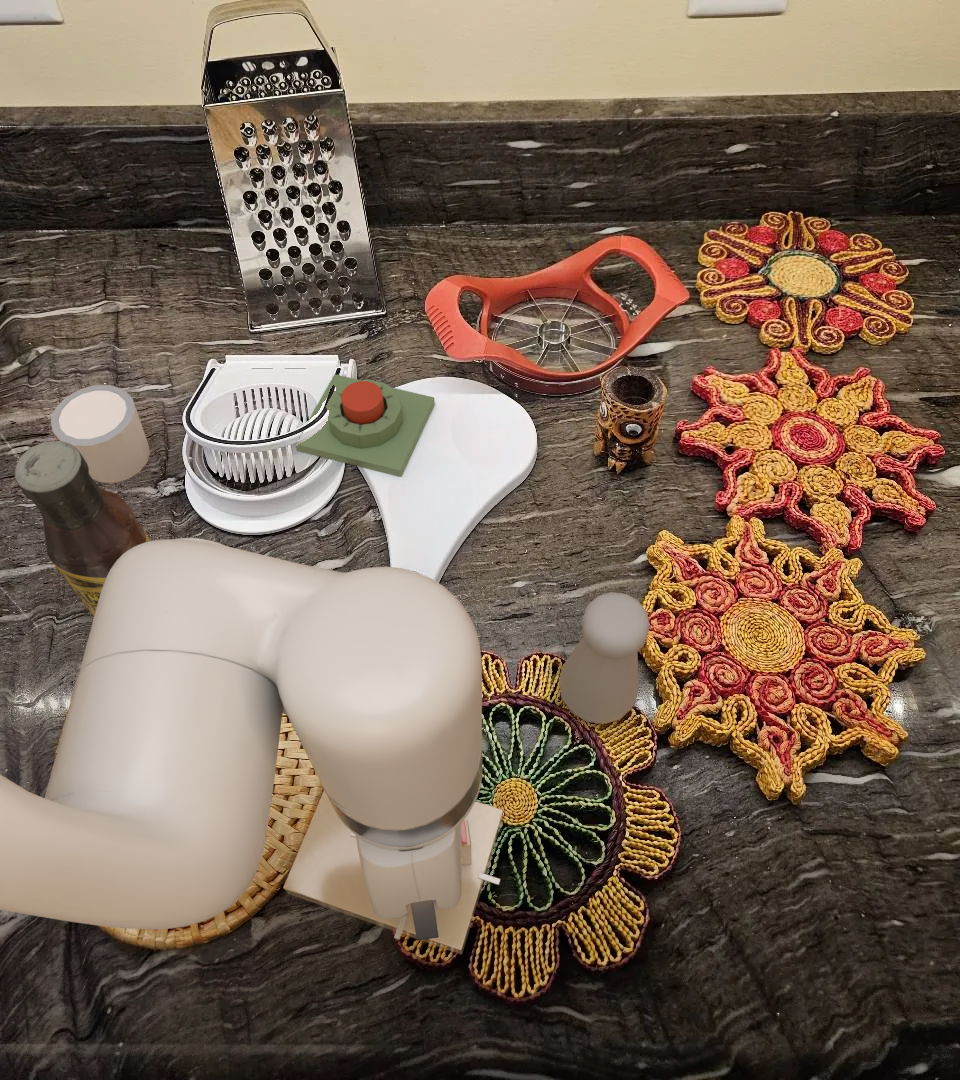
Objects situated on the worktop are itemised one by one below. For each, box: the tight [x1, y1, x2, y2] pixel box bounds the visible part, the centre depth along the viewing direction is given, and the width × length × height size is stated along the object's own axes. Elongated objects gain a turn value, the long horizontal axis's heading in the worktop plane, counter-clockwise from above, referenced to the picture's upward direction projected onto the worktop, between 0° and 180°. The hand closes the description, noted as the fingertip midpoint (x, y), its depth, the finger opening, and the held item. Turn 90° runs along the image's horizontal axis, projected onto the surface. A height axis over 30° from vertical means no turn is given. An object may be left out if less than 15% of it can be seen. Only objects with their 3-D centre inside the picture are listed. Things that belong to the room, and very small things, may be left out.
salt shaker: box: [558, 591, 651, 725], centre depth 60 cm, size 6×6×13 cm
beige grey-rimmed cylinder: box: [50, 384, 151, 484], centre depth 75 cm, size 7×7×7 cm
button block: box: [295, 373, 436, 478], centre depth 78 cm, size 10×9×4 cm
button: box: [341, 381, 384, 425], centre depth 76 cm, size 4×4×2 cm
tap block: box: [283, 789, 504, 955], centre depth 57 cm, size 13×10×3 cm
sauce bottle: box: [14, 440, 151, 617], centre depth 61 cm, size 7×6×20 cm
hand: (424, 855), depth 55 cm, fingers closed, pressing on tap handle
